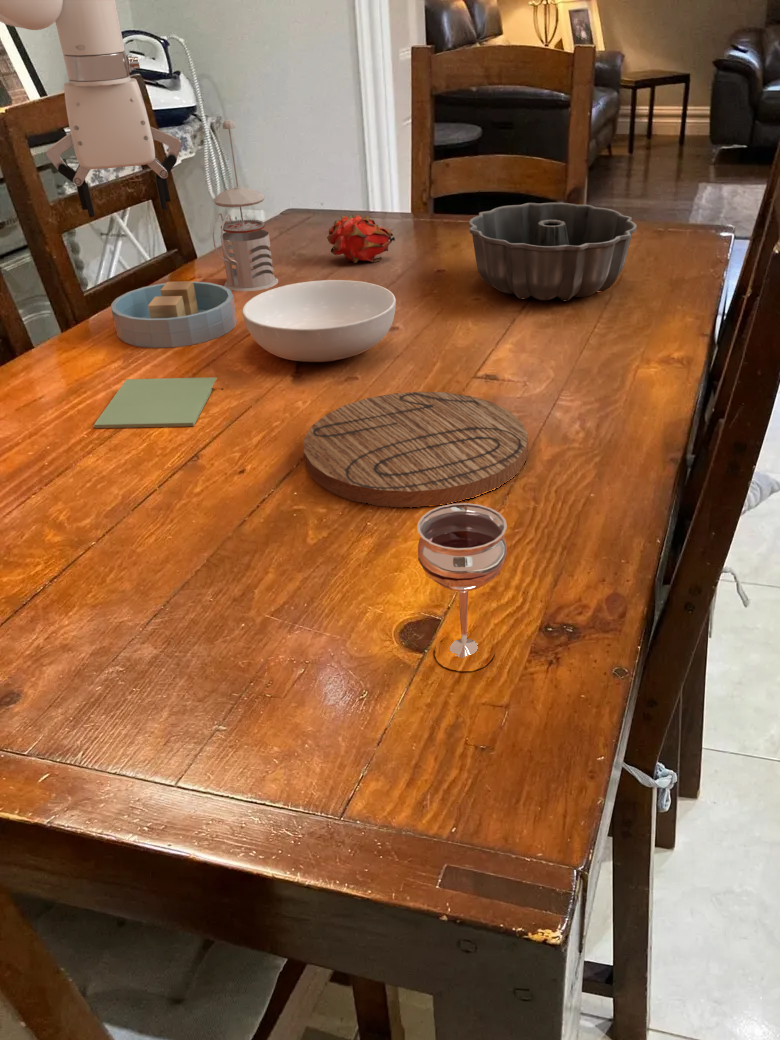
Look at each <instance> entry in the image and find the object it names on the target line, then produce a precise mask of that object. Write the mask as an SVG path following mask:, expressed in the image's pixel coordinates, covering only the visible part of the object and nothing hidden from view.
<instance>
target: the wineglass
mask: <svg viewBox="0 0 780 1040" xmlns="http://www.w3.org/2000/svg"><path fill="white" fill-rule="evenodd" d="M416 525H417V526H416V527H417V528H416V529H417V533H418V535H420V537H419V539H418V543H417V560H418V562H419V565H420V566H421V569H422V570H423V572H424V573H425V575H426V576H427V577H428V578H429V579H430V580H432V581H433V582H435V583H437V584H438V585H440V586H441V587H442V588H444V589H447V590H449V591H454V592H457V593H458V607H459V620H460V622H459V623H460V634H461V637H462V639H459V640H456V641H454V642H453V643H452V644H451V646H450V651H451V653H456V654H458V655H455V656H458V657H462V658H464V657H466V656H468V655H472V654H474V653H475V652H476V651H477V649H478V646H477V645H478V643H475V641H473V640H471V639H467V634H468V616H469V615H468V614H469V613H468V611H469V610H468V609H469V607H468V606H469V592H471V591H475V590H479V589H481V588H483V587H484V586H486V585H487V584H489V583H490V582H491V581H493V580H494V579H496V578H497V577H498V575H499V574H500V573H501V571H502V569H503V567H504V565H505V562H506V560H507V555H508V545H507V544H508V543H507V540H506V536H505V533H506V531H507V529H508V525H507V520H506V518H505V517H504V516H503V515H502V513H500V512H499V511H497V510H495V509H493V508H491V507H488V506H485V505H483V504H476V503H470V502H469V503H468V502H458V503H452V504H447V505H442V506H437V507H435V508H433V509H430V510H429V511H427V512H426V513H425V514H423V515H422V516H421V517H420V518H419V520H418V522H417V524H416Z"/></svg>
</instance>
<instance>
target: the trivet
mask: <svg viewBox="0 0 780 1040" xmlns="http://www.w3.org/2000/svg"><path fill="white" fill-rule="evenodd" d="M527 449H528V450H529V433H528V431H527V429H526V426H525V425H524V422H523V421H522V420H521V419H520V418H519V417H518V416H517V415H515V414H514V413H513V412H512V411H511V410H509V409H507V408H505V407H502V406H501V405H498V404H497V403H494V402H492V401H489V400H485V399H482V398H479V397H475V396H472V395H465V394H459V393H452V392H445V391H444V392H443V391H442V392H441V391H440V392H439V391H409V392H395V393H389V394H383V395H378V396H372V397H367V398H364V399H361V400H358V401H357V400H356V401H353V402H350V403H348V404H345V405H342V406H340V407H339V408H336V409H334V410H332V411H330V412H328V413H326V414H324V415H323V416H322V417H321V418H319V420H317V421H316V422H315V423H313V424H312V425H311V426H310V428H309V430H308V431H307V433H306V435H305V436H304V437H303V456H304V464H305V468H306V470H307V472H308V474H309V475H310V477H311V479H312V480H313V481H314V482H315V483H317V484H318V485H319V486H321V487H322V488H323V487H324V488H323V489H325V490H326V489H327V490H326V491H327V492H329V493H331V494H334V495H336V496H339V497H341V498H344V499H346V498H347V500H349V501H352V502H357V503H361V502H362V503H361V504H366V503H368V504H367V505H371V504H372V506H376V507H383V508H385V506H386V508H403V507H410V508H409V509H413V508H412V507H417V508H421V507H420V506H429V505H440V504H447V503H451V502H455V501H459V500H463V499H466V498H471V497H475V496H476V495H479V494H482V493H484V492H486V491H489V490H492V489H494V488H497V487H499V486H500V485H502V484H503V483H505V482H506V481H507V480H509V479H510V478H512V477H513V476H515V475H516V474H517V472H518V471H519V469H520V468H521V467H522V465H523V464H524V463H525V461H526V462H527V457H526V455H527V456H528V451H527ZM525 464H526V463H525ZM522 468H523V467H522ZM519 472H520V471H519ZM517 475H518V474H517ZM517 475H516V476H517ZM447 505H448V504H447ZM389 506H390V507H389ZM429 507H430V506H429Z"/></svg>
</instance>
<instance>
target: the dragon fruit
mask: <svg viewBox="0 0 780 1040" xmlns="http://www.w3.org/2000/svg"><path fill="white" fill-rule="evenodd" d="M326 239H327V241H328V242H329V244H331V245H332V247H331V248H330V253H332V254H333V255H334V256H340V255H344V256H345V257H344V258H345V261H346V262H353V264H357V263H358V262H359V261H363V262H364V261H365V262H370V263H377V262H379V261H381V260H383V257H381V256H380V257H376V256H377V255H381V254H382V253H384V252H389V246H390V244H392V242H395V240H396V238H395V236H394V234H393V233H392V232H391V230H390V229H388V228H385V227H381V226H379V225H378V224H376V221H375V220H374V219H371V218H370V216H369V215H365V216H364V217H363V218H362V216H361V215H360V214H355V216H353V214H351V215H348V216H345V215H342V216H340V219H337V220H334V222H333V225H332V226H331V227H330V228H328V235H327V237H326ZM375 257H376V258H375Z"/></svg>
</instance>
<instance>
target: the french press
mask: <svg viewBox="0 0 780 1040" xmlns="http://www.w3.org/2000/svg"><path fill="white" fill-rule="evenodd" d="M222 129H223V130H228V136H229V142H230V148H231V157H232V163H233V170H234V176H235V183H236V186H235V187H232V188H228V189H225V190H224V191H222V192H219V194H218V195H216V196H215V198H214V199H213V200H212V201H213V203H214V204H215V205H216V206H218V207H222V208H239V212H240V219H236V220H232V217H231V214H230V213H228V214H226V215H225V216H224V218H223V213H222V212H220V213H218V214H217V215H216V217H215V218H214V222H213V226H212V242H213V247H214V249H215V252H216V254H217V256H218V257H219V258H220V259H221V260H222V261H223V263H224V269H225V274H226V281H225V282H224V285H223V286H224V287H226V288H228V289H230V290H231V291H235V292H255V291H262V290H267V289H270V288H272V287H275V286H276V285H277V284H278V283H279V279H278V278H277V277H275V274H274V273H273V272H274V266H273V265H272V264H273V258H272V257H271V256H272V251H271V249H270V248H271V242H270V233H269V232H268V231H267V230H264V229H265V227H266V223H265V222H264V221H263V220H260V219H253V218H252V219H250V218H249V219H246V218H245V219H244V218H243V217H244V216H243V211H242V208H243V207H250V206H255V205H258V204H260V203H262V202H264V200H265V195H264V194H263V193H261V192H259V191H258V190H257V189H256V190H255V189H253V188H249V187H242V186H239V182H238V175H237V169H236V162H235V154H234V147H233V140H232V134H231V133H232V132H231V130H233V129H236V124H235V122H234V121H233V120H232V119H226V120H224V121H223V123H222ZM219 217H220V219H221V221H222V225H221V226H220V243H221V250H222V255H221V254H220V252H219V249H218V248H217V244H216V239H215V229H216V223H217V221H218V218H219ZM227 218H229V221H228V220H227ZM229 242H231V244H229ZM230 250H232V251H233V252H231V251H230ZM222 256H223V257H222ZM232 258H233V259H232ZM233 266H235V267H233Z"/></svg>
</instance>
